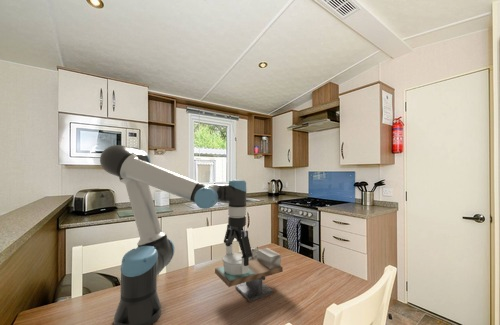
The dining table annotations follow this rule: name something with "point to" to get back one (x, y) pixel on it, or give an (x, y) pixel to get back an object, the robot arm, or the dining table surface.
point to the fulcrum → (254, 289)
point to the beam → (254, 268)
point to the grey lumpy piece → (253, 253)
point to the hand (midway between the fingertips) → (236, 266)
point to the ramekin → (233, 264)
